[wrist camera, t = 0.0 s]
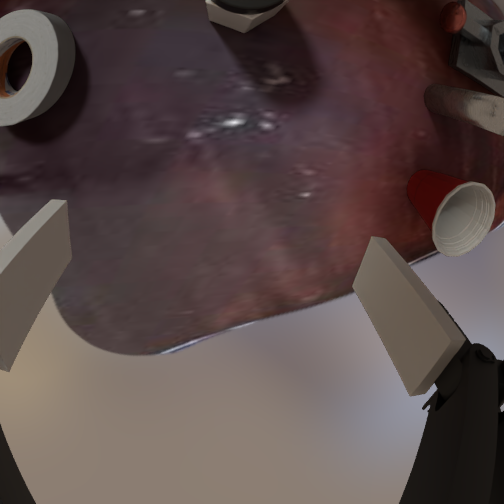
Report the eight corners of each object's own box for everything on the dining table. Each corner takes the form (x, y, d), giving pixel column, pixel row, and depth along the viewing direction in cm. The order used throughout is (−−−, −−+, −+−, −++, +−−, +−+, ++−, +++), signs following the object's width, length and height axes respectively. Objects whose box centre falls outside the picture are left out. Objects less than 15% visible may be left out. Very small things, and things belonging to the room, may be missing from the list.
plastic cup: (377, 193, 43) (421, 231, 33) (422, 139, 39) (475, 164, 29) (416, 232, 47) (457, 273, 37) (456, 184, 43) (504, 216, 33)
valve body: (435, -14, 27) (465, -20, 21) (505, 36, 29) (534, 38, 24) (425, 53, 32) (456, 53, 26) (496, 95, 35) (525, 103, 29)
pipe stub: (427, 79, 35) (496, 91, 23) (449, 90, 35) (517, 107, 23) (421, 107, 37) (488, 127, 25) (442, 116, 37) (509, 140, 25)
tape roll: (35, 140, 34) (16, 149, 30) (-25, 88, 27) (-46, 92, 23) (98, 44, 29) (82, 41, 25) (29, -3, 23) (10, -9, 18)
